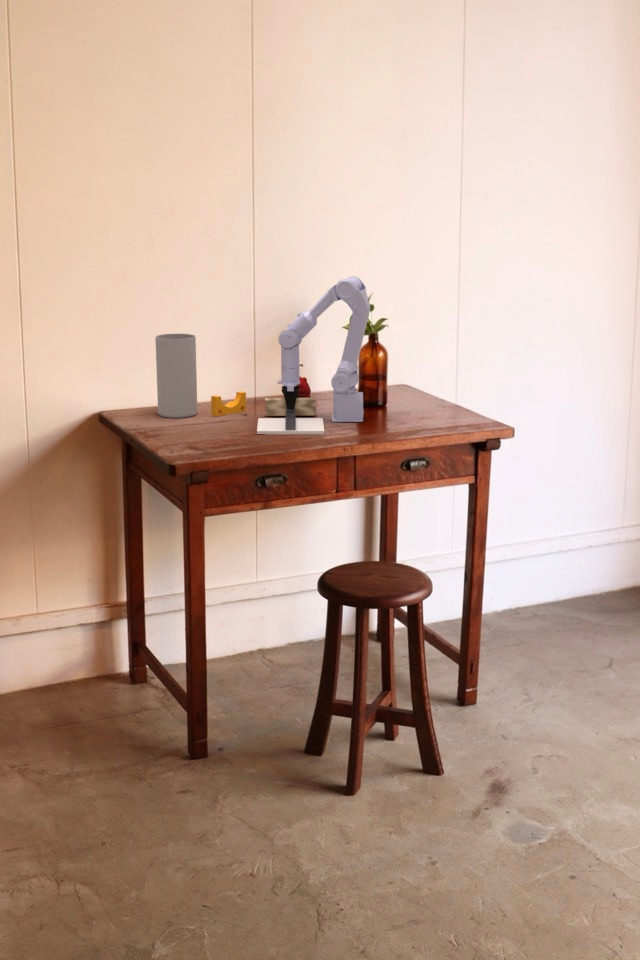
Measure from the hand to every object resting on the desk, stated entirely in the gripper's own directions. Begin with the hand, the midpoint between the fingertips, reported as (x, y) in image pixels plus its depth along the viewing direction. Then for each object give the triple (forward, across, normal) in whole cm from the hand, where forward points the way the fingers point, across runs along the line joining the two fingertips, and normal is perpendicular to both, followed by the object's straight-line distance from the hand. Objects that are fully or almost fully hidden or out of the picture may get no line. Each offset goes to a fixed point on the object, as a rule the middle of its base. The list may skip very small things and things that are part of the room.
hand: (290, 409), depth 367 cm
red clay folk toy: (+2, -21, +3) cm, 21 cm away
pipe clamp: (+2, -5, -20) cm, 21 cm away
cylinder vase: (+2, -3, -36) cm, 36 cm away
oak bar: (+2, 0, 0) cm, 2 cm away
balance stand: (+2, +17, 0) cm, 17 cm away
